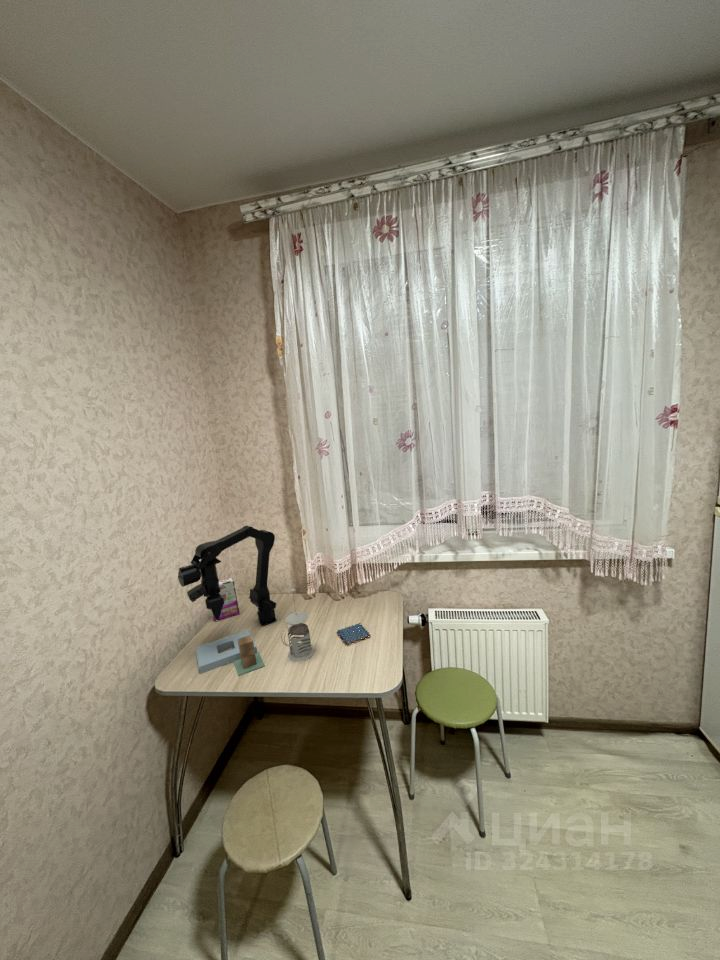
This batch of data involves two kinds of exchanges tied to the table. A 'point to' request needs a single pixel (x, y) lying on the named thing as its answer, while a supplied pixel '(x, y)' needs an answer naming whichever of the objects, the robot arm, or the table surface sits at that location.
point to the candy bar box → (228, 599)
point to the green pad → (243, 671)
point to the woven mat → (352, 634)
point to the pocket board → (212, 659)
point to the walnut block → (247, 651)
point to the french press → (298, 628)
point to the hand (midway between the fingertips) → (216, 614)
